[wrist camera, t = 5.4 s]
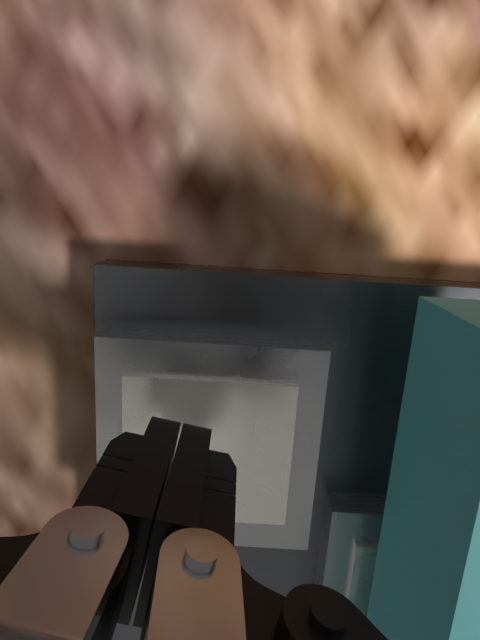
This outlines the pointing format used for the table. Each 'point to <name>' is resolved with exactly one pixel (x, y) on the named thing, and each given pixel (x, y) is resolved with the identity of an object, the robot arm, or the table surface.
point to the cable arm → (434, 485)
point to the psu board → (269, 399)
